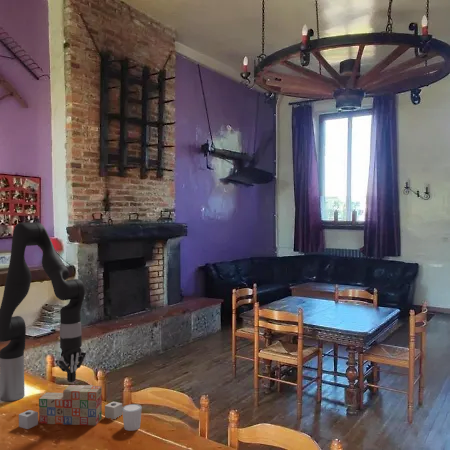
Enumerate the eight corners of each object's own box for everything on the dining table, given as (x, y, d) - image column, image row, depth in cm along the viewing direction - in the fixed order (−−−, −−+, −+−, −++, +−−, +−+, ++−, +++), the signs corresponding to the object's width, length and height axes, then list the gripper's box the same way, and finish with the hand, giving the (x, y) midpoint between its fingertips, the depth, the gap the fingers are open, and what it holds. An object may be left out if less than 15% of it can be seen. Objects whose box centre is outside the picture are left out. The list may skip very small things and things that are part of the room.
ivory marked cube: (104, 417, 175) (104, 405, 175) (113, 413, 179) (113, 400, 179) (114, 420, 173) (114, 407, 173) (122, 415, 177) (122, 403, 177)
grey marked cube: (18, 426, 168) (18, 414, 168) (29, 422, 172) (29, 409, 172) (27, 429, 166) (27, 416, 166) (38, 424, 170) (37, 411, 170)
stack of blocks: (38, 424, 170) (38, 390, 170) (46, 416, 177) (46, 384, 176) (96, 425, 169) (96, 391, 169) (102, 418, 175) (101, 385, 175)
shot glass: (145, 424, 169) (145, 405, 169) (135, 432, 163) (135, 412, 163) (128, 421, 172) (128, 402, 171) (118, 429, 165) (118, 410, 165)
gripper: (76, 329, 180) (77, 374, 180) (49, 337, 168) (49, 385, 168) (91, 331, 176) (92, 377, 176) (64, 340, 164) (65, 389, 165)
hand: (71, 381), depth 172 cm, fingers closed
